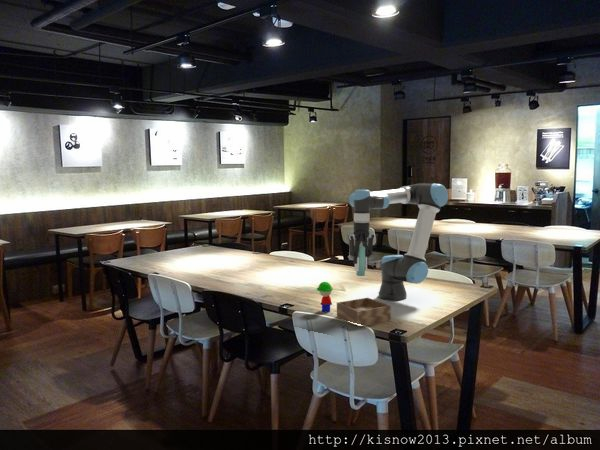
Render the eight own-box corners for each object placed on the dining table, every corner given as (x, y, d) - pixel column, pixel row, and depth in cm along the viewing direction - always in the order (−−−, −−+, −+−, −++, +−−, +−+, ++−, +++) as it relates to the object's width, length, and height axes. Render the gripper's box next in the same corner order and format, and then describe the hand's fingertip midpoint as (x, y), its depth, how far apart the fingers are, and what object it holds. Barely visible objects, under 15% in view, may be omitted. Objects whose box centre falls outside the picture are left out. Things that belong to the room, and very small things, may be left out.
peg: (361, 274, 242) (362, 245, 241) (366, 275, 238) (366, 246, 237) (354, 274, 240) (355, 246, 239) (359, 276, 237) (359, 247, 235)
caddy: (367, 311, 244) (367, 297, 244) (390, 320, 228) (390, 306, 228) (336, 316, 236) (336, 302, 235) (358, 327, 220) (358, 311, 219)
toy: (314, 312, 245) (313, 282, 243) (323, 308, 251) (322, 279, 250) (327, 314, 240) (326, 284, 239) (336, 310, 246) (335, 281, 245)
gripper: (372, 220, 244) (371, 267, 246) (342, 221, 237) (341, 270, 239) (380, 221, 237) (379, 270, 239) (350, 223, 230) (349, 272, 232)
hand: (360, 270), depth 239 cm, fingers closed on peg, 4 cm apart
